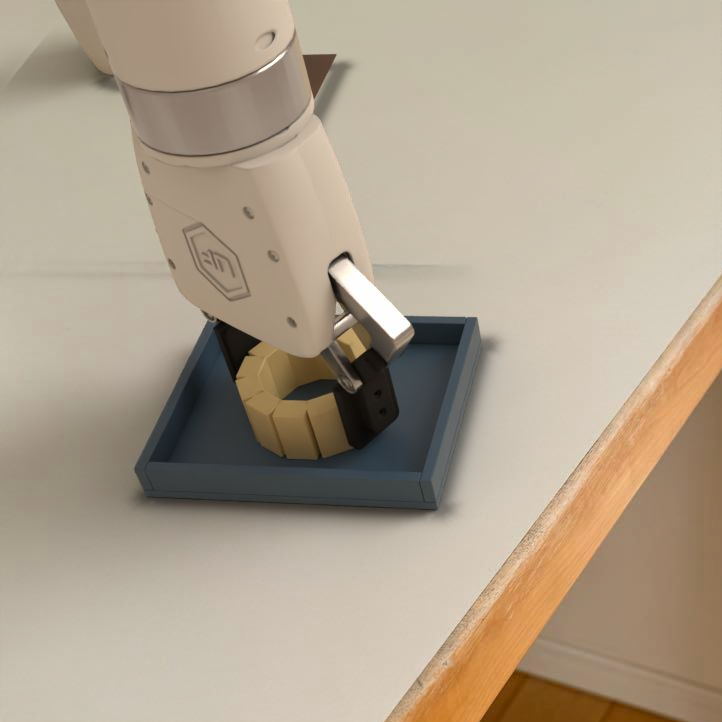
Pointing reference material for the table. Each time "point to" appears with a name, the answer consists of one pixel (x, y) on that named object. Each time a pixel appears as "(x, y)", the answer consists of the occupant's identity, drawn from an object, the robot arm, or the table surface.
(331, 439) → the bracelet
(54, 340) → the table surface
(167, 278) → the table surface
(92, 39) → the cup
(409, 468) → the tray
